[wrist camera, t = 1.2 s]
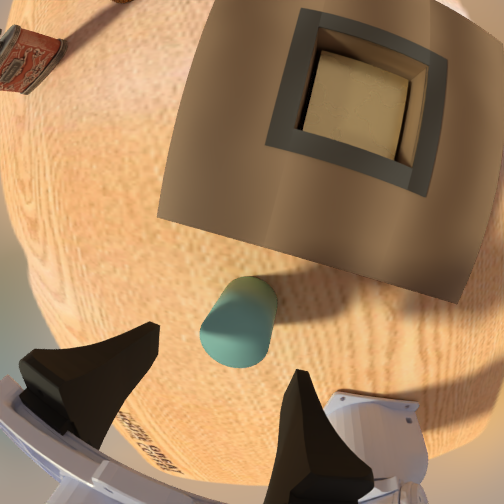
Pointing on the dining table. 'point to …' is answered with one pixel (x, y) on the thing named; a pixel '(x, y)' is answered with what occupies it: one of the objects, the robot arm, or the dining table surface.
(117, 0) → the disposable coffee cup
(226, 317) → the peg
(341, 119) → the beige square pad
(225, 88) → the block
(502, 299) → the dining table surface
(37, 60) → the lighter
